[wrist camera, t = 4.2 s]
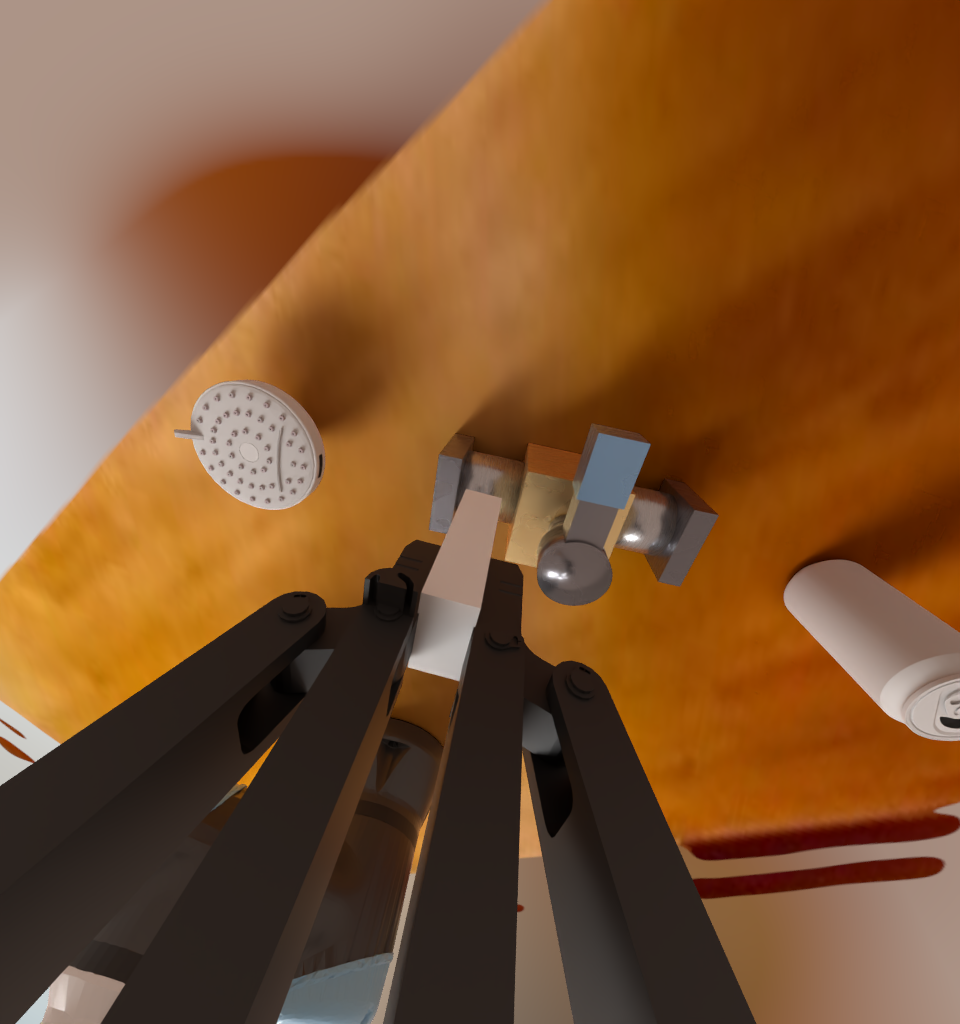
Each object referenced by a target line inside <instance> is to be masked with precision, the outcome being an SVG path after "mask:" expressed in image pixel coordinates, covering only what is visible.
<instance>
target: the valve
mask: <svg viewBox="0 0 960 1024" xmlns="http://www.w3.org/2000/svg"><path fill="white" fill-rule="evenodd" d="M581 455H582V454H578V453H574V452H569V451H564V450H560V449H555V448H551V447H546V446H541V445H537V444H532V443H528V446H527V450H526V454H525V458H524V462H525V468H524V475H523V480H522V485H521V489H520V494H519V498H518V502H517V506H516V510H515V514H514V517H513V520H512V523H511V524H509V527H508V536H507V544H506V553H505V560H506V561H510V562H514V563H519V564H523V565H528V566H532V567H536V568H537V547H538V544H539V542H540V540H541V538H542V537H543V536H544V535H545V534H546V533H547V532H548V531H550V530H551V529H553V528H555V527H558V526H561V525H563V524H564V521H565V518H566V515H567V512H568V509H569V506H570V503H571V500H572V496H573V493H574V489H573V485H572V483H573V480H574V477H575V474H576V471H577V467H578V464H579V461H580V458H581ZM635 495H636V494H635V493H634V491H633V490H632V492H631V494H630V496H629V499H628V501H627V504H626V506H625V509H624V510H623V509H619V510H618V512H617V515H616V517H615V520H614V522H613V525H612V527H611V530H610V532H609V535H608V537H607V540H606V542H605V545H604V548H605V551H606V554H607V557H608V560H609V558H610V555H611V553H612V551H613V548H614V546H615V543H616V541H617V539H618V536H619V534H620V531H621V529H622V527H623V524H624V522H625V519H626V517H627V515H628V512H629V510H630V507H631V505H632V503H633V500H634V498H635Z"/></svg>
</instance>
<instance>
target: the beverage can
mask: <svg viewBox="0 0 960 1024" xmlns="http://www.w3.org/2000/svg"><path fill="white" fill-rule="evenodd" d="M784 602H785V605H786V607H787V609H788V610H789V611H790V612H791V613H792V614H793V615H794V616H795V618H796V619H797V620H798V621H799V622H800V623H801V624H802V625H803V626H804V627H805V628H806V629H807V630H808V631H809V632H810V633H811V634H812V636H813V637H814V638H815V639H816V640H817V641H818V642H819V643H820V644H821V645H822V646H823V647H824V648H825V649H826V650H827V651H828V652H829V653H830V655H831V656H832V657H833V658H834V659H835V660H836V661H837V662H838V663H839V664H840V665H841V666H842V667H843V668H844V669H845V670H846V671H847V673H848V674H849V675H850V676H851V677H852V678H853V679H854V680H855V681H856V682H857V683H858V684H859V685H860V686H861V687H862V688H863V689H864V691H865V692H866V693H867V694H868V695H869V696H870V697H871V698H872V699H873V700H874V701H875V702H876V703H877V704H878V705H879V706H880V707H881V708H882V710H883V711H884V712H885V713H886V714H888V715H889V716H890V717H892V718H893V719H895V720H897V721H900V722H902V723H905V724H906V725H907V726H908V727H909V728H910V729H911V730H912V731H913V732H914V733H916V734H918V735H920V736H922V737H925V738H929V739H933V740H944V741H957V740H960V633H959V632H958V631H956V630H955V629H953V628H952V627H950V626H949V625H948V624H946V623H945V622H943V621H942V620H940V619H939V618H937V617H936V616H934V615H933V614H932V613H930V612H929V611H927V610H926V609H924V608H923V607H921V606H920V605H918V604H917V603H916V602H914V601H913V600H911V599H910V598H908V597H907V596H905V595H904V594H902V593H901V592H900V591H898V590H897V589H895V588H894V587H892V586H891V585H889V584H888V583H886V582H885V581H884V580H882V579H881V578H879V577H878V576H876V575H875V574H873V573H872V572H870V571H869V570H868V569H866V568H865V567H863V566H862V565H860V564H858V563H855V562H852V561H848V560H827V561H822V562H818V563H814V564H811V565H809V566H807V567H805V568H803V569H801V570H800V571H799V572H797V573H796V574H795V575H794V577H793V578H792V579H791V580H790V582H789V583H788V585H787V586H786V589H785V592H784Z"/></svg>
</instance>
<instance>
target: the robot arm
mask: <svg viewBox="0 0 960 1024" xmlns="http://www.w3.org/2000/svg"><path fill="white" fill-rule="evenodd" d="M501 501H502V498H499V497H496V496H492V495H488V494H484V493H480V492H476V491H472V490H468V489H466V490H465V493H464V495H463V497H462V499H461V502H460V504H459V506H458V509H457V511H456V513H455V516H454V518H453V520H452V523H451V525H450V527H449V530H448V532H447V534H446V536H445V539H444V541H443V543H442V546H439V545H435V544H431V543H427V542H424V541H420V540H415V541H413V542H412V543H410V544H409V545H407V546H406V547H405V548H404V550H403V552H402V553H401V555H400V557H399V558H398V560H397V562H396V564H395V565H394V567H393V568H384V569H379V570H376V571H374V572H371V573H370V574H369V575H368V576H367V577H366V578H365V584H364V595H363V604H362V605H360V606H356V607H351V608H326V604H325V602H324V600H323V599H322V598H321V597H319V596H318V595H317V594H313V593H310V592H291V593H287V594H283V595H281V596H279V597H277V598H275V599H273V600H272V601H270V602H269V603H267V604H266V605H265V606H263V607H262V608H260V609H259V610H257V611H256V612H254V613H253V614H251V615H250V616H248V617H247V618H246V619H244V620H243V621H241V622H240V623H238V624H237V625H235V626H234V627H232V628H231V629H229V630H228V631H226V632H225V633H224V634H222V635H221V636H219V637H218V638H216V639H215V640H213V641H212V642H210V643H209V644H207V645H206V646H204V647H203V648H202V649H200V650H199V651H197V652H196V653H194V654H193V655H191V656H190V657H188V658H187V659H185V660H184V661H183V662H181V663H180V664H178V665H177V666H175V667H174V668H172V669H171V670H169V671H168V672H166V673H165V674H163V675H162V676H161V677H159V678H158V679H156V680H155V681H153V682H152V683H150V684H149V685H147V686H146V687H144V688H143V689H142V690H140V691H139V692H137V693H136V694H134V695H133V696H131V697H130V698H128V699H127V700H125V701H124V702H122V703H121V704H120V705H118V706H117V707H115V708H114V709H112V710H111V711H109V712H108V713H106V714H105V715H103V716H102V717H101V718H99V719H98V720H96V721H95V722H93V723H92V724H90V725H89V726H87V727H86V728H84V729H83V730H81V731H80V732H79V733H77V734H76V735H74V736H73V737H71V738H70V739H68V740H67V741H65V742H64V743H62V744H61V745H60V746H58V747H57V748H55V749H54V750H52V751H51V752H49V753H48V754H47V755H45V756H43V757H42V758H40V759H39V760H38V761H36V762H35V763H33V764H32V765H30V766H29V767H27V768H26V769H24V770H23V771H21V772H20V773H18V774H17V775H16V776H14V777H13V778H11V779H10V780H8V781H7V782H5V783H4V784H2V785H1V786H0V1024H15V1023H16V1022H17V1021H18V1020H19V1019H20V1018H21V1017H22V1016H23V1015H24V1014H25V1013H26V1011H27V1010H28V1009H29V1008H30V1007H31V1006H32V1005H33V1004H34V1003H35V1002H36V1001H37V1000H38V998H39V997H40V996H41V995H42V994H43V993H44V992H45V991H46V990H47V989H48V987H50V990H49V999H48V1006H47V1010H46V1012H45V1015H44V1018H43V1021H42V1022H41V1023H40V1024H370V1023H371V1022H372V1020H373V1018H374V1016H375V1014H376V1012H377V1009H378V1006H379V1002H380V998H381V994H382V990H383V986H384V983H385V979H386V975H387V972H388V968H389V964H390V962H391V961H392V959H393V948H394V944H395V939H396V935H397V930H398V925H399V920H400V916H401V912H402V907H403V902H404V898H405V893H406V889H407V884H408V880H409V875H410V870H411V866H412V861H413V857H414V852H415V847H416V843H417V839H418V835H419V831H420V828H421V826H422V824H423V823H424V821H425V819H426V817H427V815H428V813H429V810H430V813H429V817H428V822H427V826H426V831H425V835H424V840H423V844H422V849H421V854H420V858H419V863H418V867H417V872H416V876H415V881H414V885H413V890H412V895H411V899H410V904H409V908H408V913H407V917H406V922H405V926H404V931H403V936H402V940H401V945H400V950H399V954H398V958H397V963H396V967H395V972H394V976H393V981H392V986H391V990H390V995H389V999H388V1004H387V1008H386V1013H385V1018H384V1022H383V1024H514V991H515V961H516V928H517V926H516V925H517V897H518V865H519V833H520V801H521V769H522V751H523V756H524V762H525V767H526V772H527V777H528V783H529V788H530V793H531V799H532V804H533V809H534V814H535V820H536V825H537V830H538V836H539V841H540V846H541V851H542V857H543V862H544V867H545V873H546V878H547V883H548V888H549V894H550V899H551V904H552V909H553V914H554V920H555V925H556V930H557V936H558V941H559V946H560V951H561V957H562V962H563V967H564V973H565V978H566V983H567V989H568V994H569V999H570V1005H571V1010H572V1015H573V1020H574V1024H756V1022H755V1020H754V1017H753V1015H752V1013H751V1011H750V1008H749V1006H748V1004H747V1002H746V999H745V997H744V995H743V993H742V990H741V988H740V986H739V984H738V981H737V979H736V977H735V975H734V973H733V970H732V968H731V966H730V964H729V962H728V959H727V957H726V955H725V952H724V950H723V948H722V945H721V943H720V941H719V939H718V936H717V935H716V932H715V930H714V927H713V925H712V923H711V921H710V918H709V916H708V914H707V912H706V909H705V907H704V905H703V903H702V900H701V898H700V896H699V894H698V891H697V889H696V887H695V885H694V882H693V880H692V878H691V876H690V873H689V871H688V869H687V867H686V865H685V862H684V860H683V858H682V855H681V853H680V851H679V849H678V846H677V844H676V842H675V840H674V837H673V835H672V833H671V831H670V828H669V826H668V824H667V822H666V819H665V817H664V815H663V813H662V810H661V808H660V806H659V804H658V801H657V799H656V797H655V794H654V792H653V790H652V788H651V785H650V783H649V781H648V779H647V776H646V774H645V772H644V770H643V767H642V765H641V763H640V761H639V758H638V756H637V754H636V752H635V749H634V747H633V745H632V743H631V740H630V738H629V736H628V734H627V731H626V729H625V727H624V725H623V722H622V720H621V718H620V716H619V713H618V711H617V709H616V707H615V704H614V702H613V700H612V698H611V695H610V693H609V691H608V689H607V686H606V685H605V683H604V682H603V680H602V679H601V677H600V676H599V675H598V674H597V673H596V672H595V671H594V670H592V669H591V668H589V667H588V666H586V665H584V664H582V663H579V662H575V661H565V662H561V663H560V664H558V665H557V666H556V667H555V666H553V665H551V664H549V663H548V662H546V661H544V660H542V659H541V658H539V657H538V656H536V655H535V654H534V653H533V652H532V651H531V650H530V649H528V647H527V646H526V644H525V643H524V638H523V637H522V635H521V618H522V595H523V574H522V572H521V570H520V568H519V566H518V565H516V564H512V563H508V562H504V561H500V560H497V559H493V558H491V553H492V547H493V542H494V537H495V532H496V527H497V521H498V516H499V511H500V506H501ZM408 661H409V662H408ZM407 664H408V668H412V669H416V670H420V671H423V672H427V673H431V674H435V675H438V676H442V677H446V678H450V679H453V680H457V681H459V685H458V689H457V692H456V696H455V699H454V702H453V706H452V709H451V713H450V716H449V717H450V722H449V726H448V731H447V735H446V740H445V744H444V749H443V747H442V746H441V745H440V743H439V742H438V741H437V740H436V739H435V738H434V737H432V736H431V735H430V734H429V733H427V732H426V731H424V730H422V729H421V728H419V727H417V726H415V725H412V724H410V723H407V722H404V721H400V720H396V719H391V718H390V716H391V713H392V710H393V708H394V705H395V702H396V700H397V697H398V694H399V692H400V689H401V686H402V681H403V676H404V672H405V669H406V666H407ZM278 738H279V739H278ZM277 739H278V740H277ZM276 740H277V742H276V744H275V745H274V747H273V748H272V750H271V752H270V753H269V755H268V756H267V758H266V760H265V761H264V763H263V764H262V766H261V768H260V769H259V771H258V772H257V774H256V776H255V777H254V779H253V780H252V782H251V784H250V785H249V787H248V788H247V786H246V785H245V784H241V785H238V784H236V783H237V782H238V781H239V780H240V779H241V778H242V777H243V776H244V775H245V774H246V773H247V771H248V770H249V769H250V768H251V767H252V766H253V765H254V764H255V763H256V762H257V761H258V760H259V758H260V757H261V756H262V755H263V754H264V753H265V752H266V751H267V750H268V749H269V748H270V746H271V745H272V744H273V743H274V742H275V741H276Z"/></svg>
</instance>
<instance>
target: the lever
mask: <svg viewBox="0 0 960 1024" xmlns="http://www.w3.org/2000/svg"><path fill="white" fill-rule="evenodd" d="M650 445H651V444H650V443H649V442H648V441H647V440H646V439H645V438H644V437H642V436H641V435H640V434H639V433H636V432H631V431H627V430H622V429H617V428H612V427H608V426H603V425H598V424H594V423H592V424H591V427H590V430H589V434H588V437H587V440H586V443H585V446H584V449H583V452H582V455H581V458H580V461H579V464H578V467H577V471H576V474H575V477H574V480H573V483H572V485H573V489H574V493H573V496H572V500H571V503H570V506H569V509H568V512H567V515H566V518H565V521H564V524H563V525H561V526H558V527H555V528H553V529H551V530H550V531H548V532H547V533H546V534H545V535H544V536H543V537H542V538H541V540H540V542H539V544H538V547H537V579H538V584H539V586H540V588H541V590H542V591H543V592H544V594H545V595H546V596H547V597H549V598H550V599H552V600H553V601H555V602H558V603H561V604H564V605H572V606H576V605H584V604H588V603H591V602H593V601H595V600H597V599H598V598H600V597H601V596H602V595H603V594H604V593H605V592H606V591H607V590H608V588H609V586H610V584H611V581H612V569H611V566H610V563H609V560H608V557H607V554H606V551H605V548H604V545H605V542H606V540H607V537H608V535H609V532H610V530H611V527H612V525H613V522H614V520H615V517H616V515H617V512H618V510H619V509H623V510H624V509H625V506H626V504H627V501H628V499H629V496H630V494H631V492H632V489H633V487H634V484H635V482H636V479H637V477H638V474H639V472H640V470H641V467H642V465H643V462H644V460H645V457H646V455H647V452H648V450H649V448H650Z"/></svg>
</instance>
